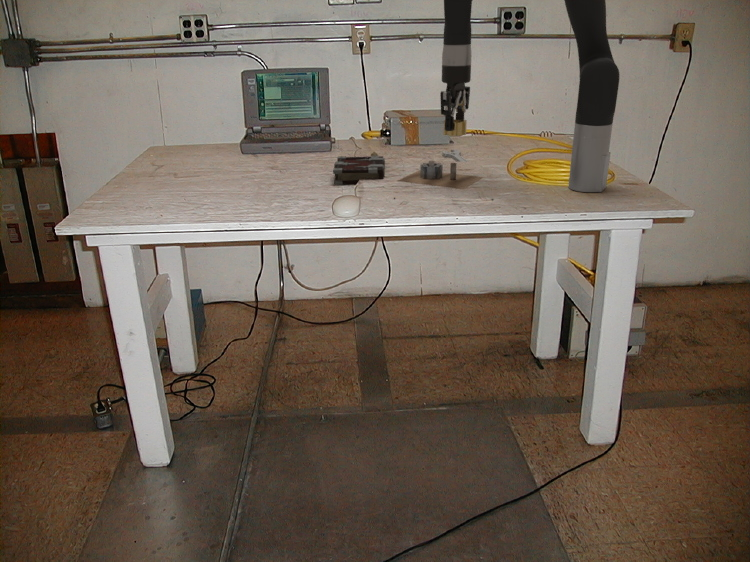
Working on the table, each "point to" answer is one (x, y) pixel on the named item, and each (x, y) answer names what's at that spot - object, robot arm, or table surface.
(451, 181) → the gear board
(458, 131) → the brass gear
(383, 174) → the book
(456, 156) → the adjustable wrench
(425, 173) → the steel gear
